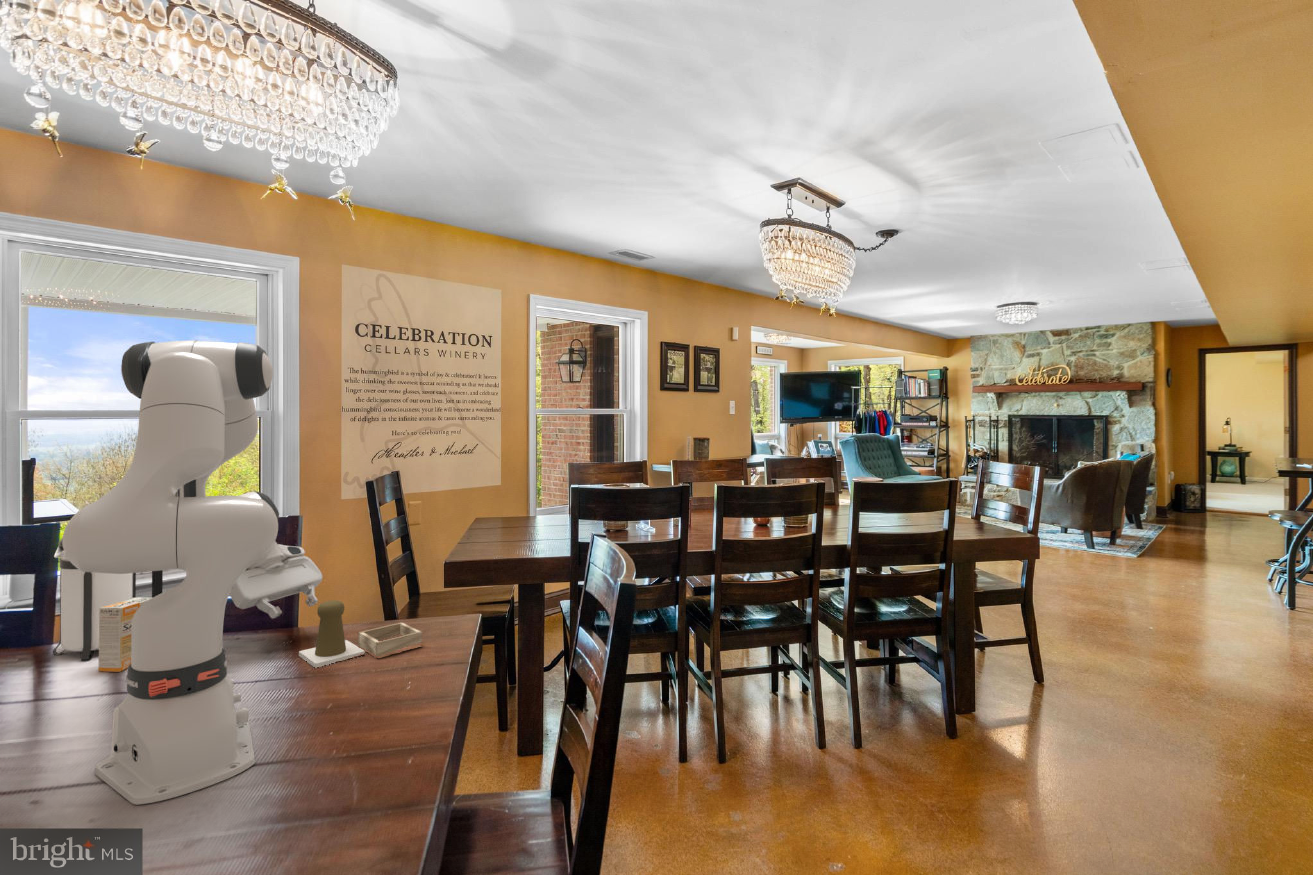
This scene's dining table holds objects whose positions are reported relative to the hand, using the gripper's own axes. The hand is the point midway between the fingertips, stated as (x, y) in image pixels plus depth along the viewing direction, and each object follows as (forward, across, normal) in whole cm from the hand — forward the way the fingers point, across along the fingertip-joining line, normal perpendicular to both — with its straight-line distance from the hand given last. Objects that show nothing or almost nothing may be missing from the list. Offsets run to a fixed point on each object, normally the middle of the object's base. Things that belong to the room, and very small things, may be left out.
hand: (296, 609), depth 135 cm
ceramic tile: (+14, 0, -1) cm, 14 cm away
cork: (+13, 0, -1) cm, 13 cm away
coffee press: (-22, -13, +36) cm, 44 cm away
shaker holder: (+19, +8, -7) cm, 22 cm away
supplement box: (-11, -18, +25) cm, 32 cm away
